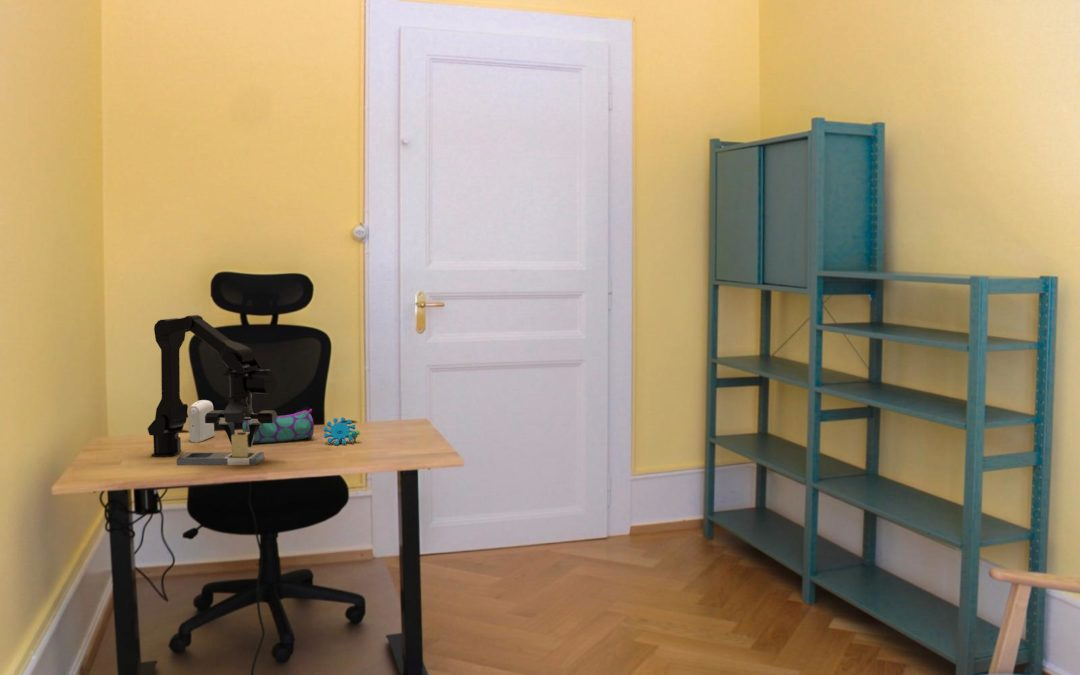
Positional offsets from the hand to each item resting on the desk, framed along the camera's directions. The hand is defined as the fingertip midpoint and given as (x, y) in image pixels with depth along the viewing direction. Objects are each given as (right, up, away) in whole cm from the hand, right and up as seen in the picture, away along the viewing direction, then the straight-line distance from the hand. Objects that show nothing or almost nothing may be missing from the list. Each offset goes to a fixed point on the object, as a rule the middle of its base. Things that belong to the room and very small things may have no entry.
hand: (242, 447), depth 270 cm
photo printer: (-22, -1, +32) cm, 39 cm away
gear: (+23, -2, +26) cm, 35 cm away
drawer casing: (-6, -4, 0) cm, 7 cm away
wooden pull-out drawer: (0, -3, 0) cm, 3 cm away
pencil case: (+2, -2, +30) cm, 30 cm away
